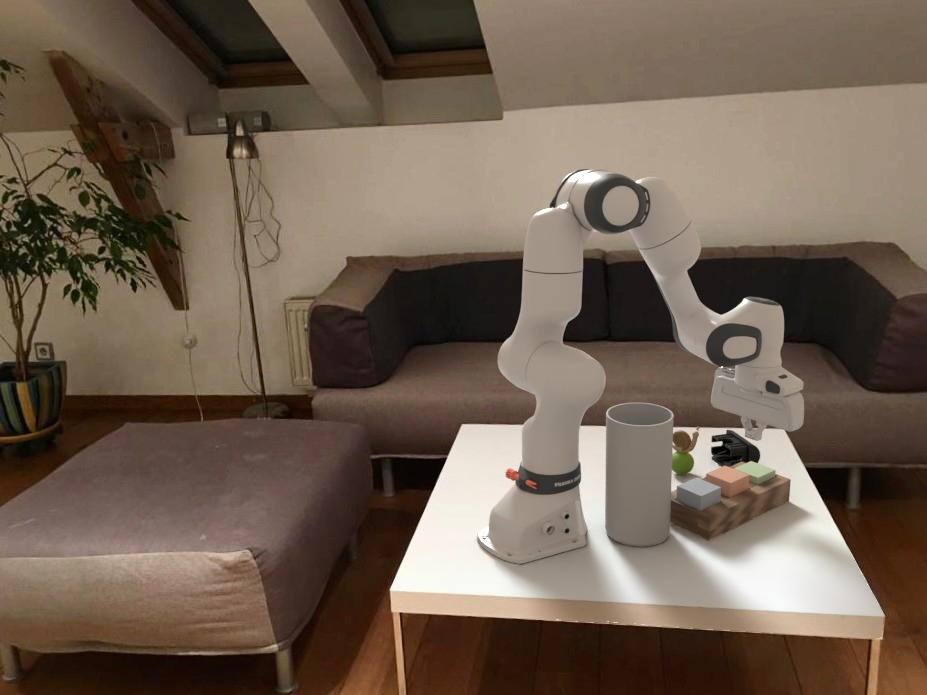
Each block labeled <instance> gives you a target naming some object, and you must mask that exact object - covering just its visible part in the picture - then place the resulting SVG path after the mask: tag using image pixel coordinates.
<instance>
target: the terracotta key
mask: <svg viewBox="0 0 927 695" xmlns="http://www.w3.org/2000/svg"><path fill="white" fill-rule="evenodd" d="M705 477H706V482H709V483H711V484H714V485H716V486H719V487H721V494H722V495H725V496H727V497H730V498H731V497H733V496H735V495H737V494H740V493H742V492H744V491H746V490H748V489H749V474H746V473H743V472H741V471H738V470H735V469H733V468H730V467H727V466H723V467H721V466H719V467H717V468H716V469H714V470H711V471H708V472H707V473H706V474H705Z"/></svg>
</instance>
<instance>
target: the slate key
mask: <svg viewBox="0 0 927 695" xmlns="http://www.w3.org/2000/svg"><path fill="white" fill-rule="evenodd" d="M676 489H677V496H676V500H677V501H679V502H681V503H683V504H686V505H688V506H690V507H692V508H695V509H697V510H699V511H702V510H705V509H707V508H709V507H711V506H713V505H716V504H718V503H720V498H721V487H719V486H716V485H714V484H711V483H709V482H706V481H704V480H702V478H699V477H695V478H694V477H693V479H689V480H688V481H685V482H683V483H680V484H678V485H676Z"/></svg>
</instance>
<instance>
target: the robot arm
mask: <svg viewBox="0 0 927 695" xmlns="http://www.w3.org/2000/svg"><path fill="white" fill-rule="evenodd" d="M528 222H529V223H528V226H527V231H526V235H525V241H524V247H523V261H522V284H521V285H522V286H521V287H522V288H521V303H520V311H519V316H518V320H517V323H516V325H515V328H514V331H513V332H512V334H511V335H510V336H509V337H508V338H506V340H505V341H504V342H503V343H502V345H501V346H500V348H499V350H498V354H497V365H498V366H497V367H498V369H499V371H500V373H501V374H502V376H503V377H504V378H506V379H507V380H508V381H509V382H510V383H511V384H512V385H513V386H515V387H517V388H518V389H521V390H523V391H526V392H527V393H529V394H532V395H534V397H535V400H536V406H535V409H534V410H535V411H534V413H533V415H532V416H530V417H529V418H528V419H527V420H526V421H525V422H523V425H522V427H521V458H522V459H521V462H520V463H519V466H518V470H514V469H513V468H511V467H509V468H507V469H506V471H505V478H507V479H510V480H511V481H512V482H513V481H515V483H514V484H513V485H512V486H511V488H509V490H508V491H507V492H506V493H505V494H504V496H502V498H501V499H500V500H498V502H497V503H496V504H495V505H494V506H493V507H492V509H491V510H490V513H489V519H488V526H485V527H484V528H482V529H481V530H479V531H478V532H477V536H476V538H477V541H478V543H479V545H481V547H482V548H483V549H485V550H486V551H487V552H489V553H490V554H492V555H494V556H495V557H497V558H498V559H501V560H503V561H507V562H510V563H513V564H519V565H521V564H525V563H526V564H527V563H529V562H534V561H537V560H540V559H544V558H547V557H551V556H554V555H557V554H561V553H565V552H569V551H572V550H575V549H578V548H583V547H584V546H586V545H587V540H586V535H587V532H588V525H587V523H586V520H585V517H584V511H583V505H582V501H581V500H582V499H581V491H580V490H581V488H580V484H581V482H582V466H581V465H582V464H581V462H580V458H579V457H580V454H579V452H580V450H579V449H580V448H579V446H580V428H581V424H582V421H583V417H584V415H585V413H586V411H587V410H588V409H589V408H590V407H592V406H594V404H596V403H597V402H598V401H599V399H600V398H601V397H602V395H603V392H604V390H605V387H606V380H607V378H606V373H605V369H604V367H603V365H602V364H601V363H600V362H599V361H598V360H596V359H595V358H594V357H592V356H591V355H589V354H588V353H587V352H585V351H583V350H581V349H578V348H575V347H573V346H570V345H566V344H564V341H563V338H564V333H565V330H566V327H567V325H568V323H569V322H570V321H572V320H573V319H575V318H576V317H577V316H578V315H579V314H580V312H581V309H582V297H583V296H582V295H583V272H584V253H583V252H584V251H585V246H586V243H587V241H588V239H589V237H590V236H591V234H592V233H601V234H604V235H617V234H621V233H624V232H627V231H628V233H629V234H630V235H631V237H632V240H633V242H634V244H635V246H636V247H637V249H638V251H639V253H640V255H641V257H642V258H643V260H644V261H645V264H647V266H648V268H649V270H650V272H651V273H652V275H653V278H654V280H655V282H656V285H657V287H658V289H659V291H660V293H661V296H662V297H663V300H664V302H665V304H666V307H667V309H668V310H669V313H670V316H671V323H672V335H673V339H674V341H675V343H676V345H677V346H678V347H679V348H680V349H681V350H683V351H684V352H686V353H689V354H691V355H695V356H697V357H699V358H700V359H702V360H704V361H706V362H708V363H710V364H711V365H714V366H717V369H716V370H715V371H714V382H713V385H712V389H711V395H710V396H711V397H710V403H711V405H712V407H713V408H714V409H718V410H721V411H724V412H727V413H730V414H732V415H736V416H740V423H741V424H742V427H743V428H744V437H745V438H747V439H750V440H753V441H756V442H759V441H761V440H762V438H763V437H762V436H763V432H764V431H765V430H766V428H767V427H768V426H770V427H774V428H777V429H780V430H784V431H786V432H788V433H789V432H794V431H797V430H799V429H800V428H801V427H802V426H803V425H804V421H805V420H804V418H805V401H804V397H803V394H802V393H801V392H800V391H802V390H803V389H804V381H803V380H802V379H801V378H799V377H797V376H796V375H794V374H793V373H791V372H790V371H789V370H787V369H786V368H784V367H783V366H782V362H783V361H782V357H781V350H782V347H783V344H784V337H785V336H784V335H785V334H784V333H785V317H784V316H785V315H784V310H783V307H782V305H780V303H779V302H777V301H775V300H771V299H768V298H764V297H759V296H746V297H744V298H742V301H741V302H740V303H739V304H737V306H736V307H733V309H731V310H729V311H728V312H725V313H722V314H719V313H717V312H715V311H714V310H712V309H710V308H709V307H707V306H706V305H705V304H703V303H702V302H701V300H700V299H699V296H698V295H697V292H696V290H695V287H694V286H693V283H692V280H691V278H690V276H689V274H688V270H689V269H691V268H692V267H693V266H694V265H695V263H696V262H697V261H698V259H699V257H700V255H701V251H702V244H701V240H700V237H699V234H698V231H697V228H696V227H695V224H694V223H693V221H692V219H691V216H690V215H689V213H688V211H687V209H686V208H685V206H684V205H683V203H682V201H681V200H680V198H679V197H678V196H677V194H676V193H675V192H674V190H673V189H672V188H671V186H670V185H669V184H668V183H667V182H666V181H665V180H664V179H663V178H660V177H658V176H646V177H643V178H640V179H637V180H636V181H635V180H634V179H632V178H630V177H628V176H626V175H623V174H621V173H616V172H615V173H614V172H611V171H608V170H605V169H597V168H596V169H587V168H586V169H584V168H583V169H579V170H578V169H577V170H575V171H572V172H571V173H568V174H567V175H566V176H565V177H564V178H563V179H562V181H560V183H559V185H558V187H557V189H556V192H555V194H554V197H553V199H552V200H551V202H550V204H549V207H548V208H545V209H542V210H540V211H538V212H536V213H534V214H533V215H532V216H531V218H530V219H529V221H528ZM731 367H735V368H731ZM752 421H754V422H755V426H757V428H756V429H755V428H754V427H753V424H752Z"/></svg>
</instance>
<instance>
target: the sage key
mask: <svg viewBox="0 0 927 695" xmlns="http://www.w3.org/2000/svg"><path fill="white" fill-rule="evenodd" d="M734 469H735V470H738V471H741V472H743V473H746V474H749V482H751V483H754V484H757V485H759V484H761V483H763V482H766V481H768V480H770V479H772V478H774V477H775V474H776V473H777V472H776V470H777V469H775V468H771V467H769V466H765V465H763V464H760V463H759V462H758V463H755V462H752V461H750V462H748V463H745V464H743V465H741V466H739V467H736V468H734Z"/></svg>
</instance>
